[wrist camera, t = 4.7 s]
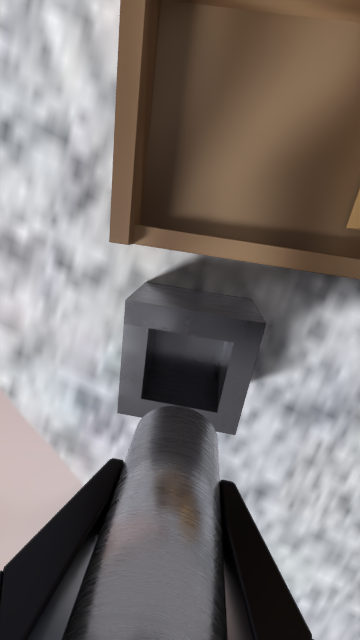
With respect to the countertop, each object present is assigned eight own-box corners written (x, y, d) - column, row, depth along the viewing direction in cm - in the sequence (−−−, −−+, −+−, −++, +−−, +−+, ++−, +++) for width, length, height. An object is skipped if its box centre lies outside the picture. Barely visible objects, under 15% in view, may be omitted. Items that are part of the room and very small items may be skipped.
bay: (639, 31, 11) (785, -36, 8) (487, 296, 15) (550, 311, 13) (144, -25, 12) (125, -101, 9) (126, 239, 16) (109, 241, 13)
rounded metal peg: (225, 414, 9) (280, 966, 2) (209, 478, 10) (214, 982, 3) (139, 398, 9) (-51, 872, 2) (132, 463, 10) (-14, 916, 3)
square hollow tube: (251, 299, 17) (266, 323, 13) (228, 389, 19) (235, 435, 15) (145, 282, 17) (125, 299, 13) (136, 372, 19) (117, 412, 15)
